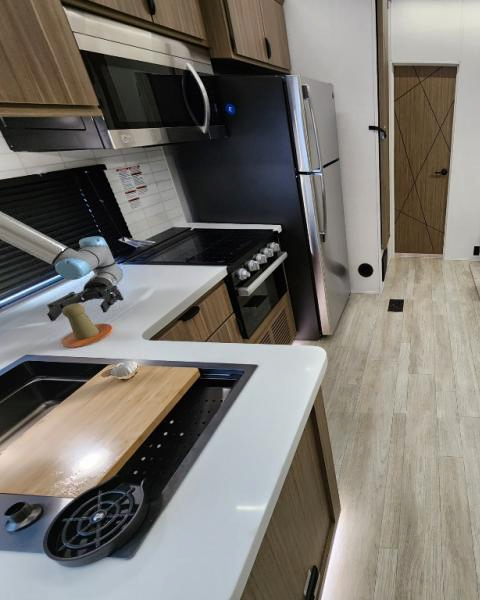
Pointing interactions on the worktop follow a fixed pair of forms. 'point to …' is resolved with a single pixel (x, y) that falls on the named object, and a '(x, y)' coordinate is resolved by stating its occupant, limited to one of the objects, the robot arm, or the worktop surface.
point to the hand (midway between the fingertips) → (77, 313)
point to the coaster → (72, 342)
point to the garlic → (124, 368)
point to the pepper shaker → (79, 321)
